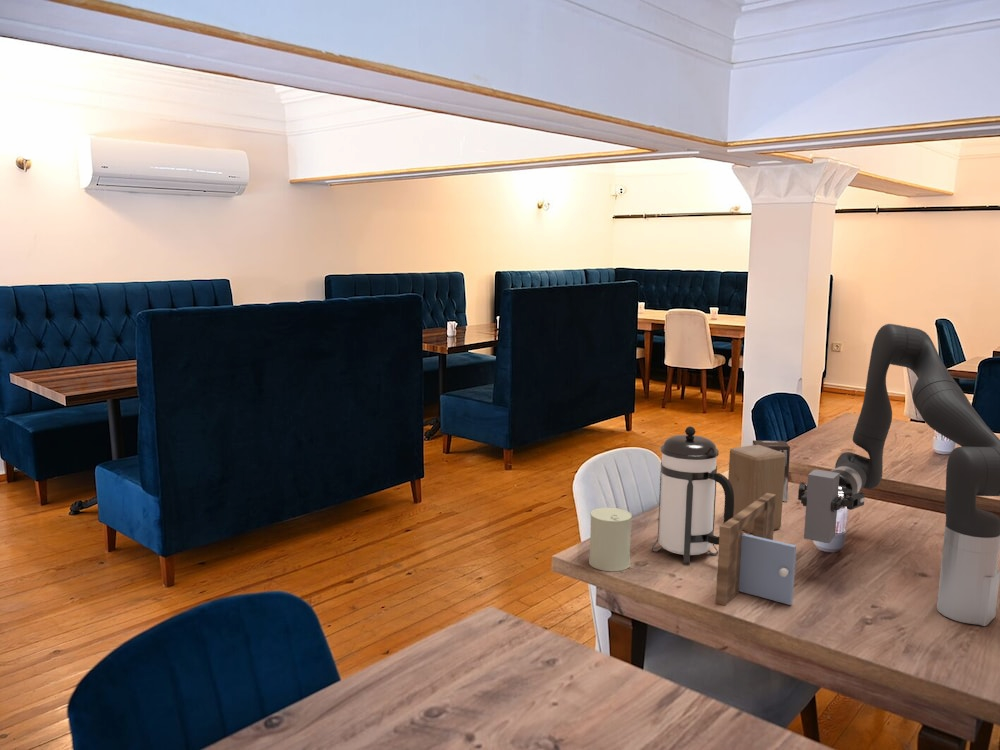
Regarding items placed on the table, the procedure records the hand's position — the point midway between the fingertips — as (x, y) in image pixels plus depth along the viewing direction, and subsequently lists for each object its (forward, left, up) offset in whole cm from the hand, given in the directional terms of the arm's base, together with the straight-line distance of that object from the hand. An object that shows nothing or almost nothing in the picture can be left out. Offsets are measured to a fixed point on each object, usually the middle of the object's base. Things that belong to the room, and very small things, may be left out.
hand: (818, 504), depth 165 cm
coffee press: (+26, +6, -18) cm, 32 cm away
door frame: (+10, +10, -17) cm, 22 cm away
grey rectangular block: (0, -3, -8) cm, 8 cm away
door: (+4, +15, -17) cm, 23 cm away
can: (+35, +24, -18) cm, 46 cm away
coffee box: (+35, -46, -18) cm, 61 cm away
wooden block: (+26, -22, -18) cm, 38 cm away
